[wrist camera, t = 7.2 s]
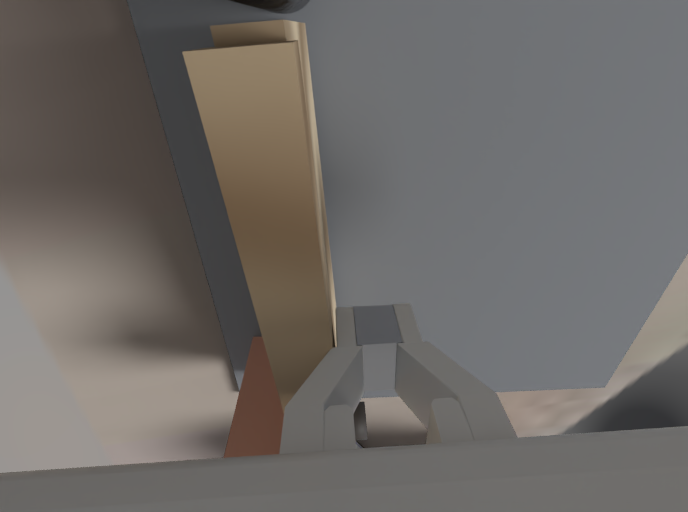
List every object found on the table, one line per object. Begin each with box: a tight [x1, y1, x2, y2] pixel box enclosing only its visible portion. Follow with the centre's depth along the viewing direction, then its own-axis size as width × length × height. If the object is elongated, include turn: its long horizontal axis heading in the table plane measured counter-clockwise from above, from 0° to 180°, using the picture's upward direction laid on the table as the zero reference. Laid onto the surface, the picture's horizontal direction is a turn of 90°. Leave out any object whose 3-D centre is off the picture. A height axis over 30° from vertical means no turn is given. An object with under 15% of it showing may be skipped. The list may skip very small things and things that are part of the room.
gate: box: [182, 20, 367, 440], centre depth 13 cm, size 17×2×8 cm, turn 4°
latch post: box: [224, 337, 284, 458], centre depth 17 cm, size 3×2×10 cm
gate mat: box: [127, 0, 688, 398], centre depth 16 cm, size 26×24×1 cm
